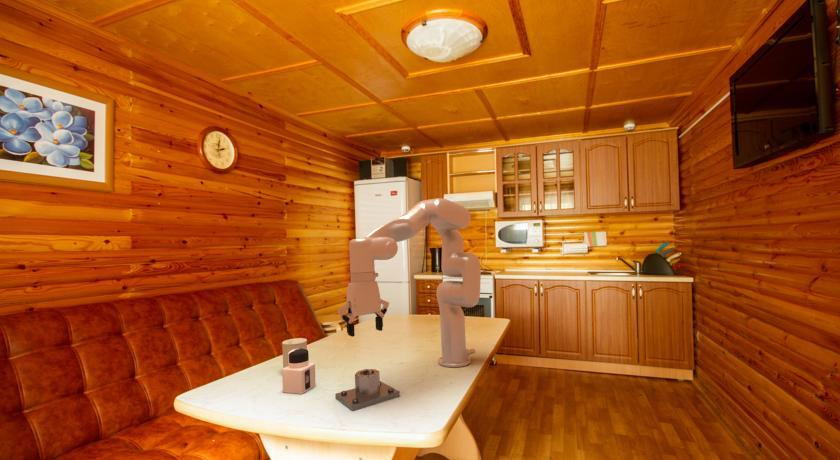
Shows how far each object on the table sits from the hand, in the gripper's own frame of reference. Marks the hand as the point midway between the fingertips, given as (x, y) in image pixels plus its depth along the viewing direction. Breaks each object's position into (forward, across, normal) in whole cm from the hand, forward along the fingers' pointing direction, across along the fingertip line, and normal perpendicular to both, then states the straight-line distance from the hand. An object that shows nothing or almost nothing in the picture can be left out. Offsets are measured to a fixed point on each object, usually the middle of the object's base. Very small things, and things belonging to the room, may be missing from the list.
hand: (365, 332), depth 120 cm
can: (+20, +9, -42) cm, 47 cm away
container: (+20, +14, -22) cm, 33 cm away
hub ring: (+18, 0, 0) cm, 18 cm away
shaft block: (+20, 0, 0) cm, 20 cm away
